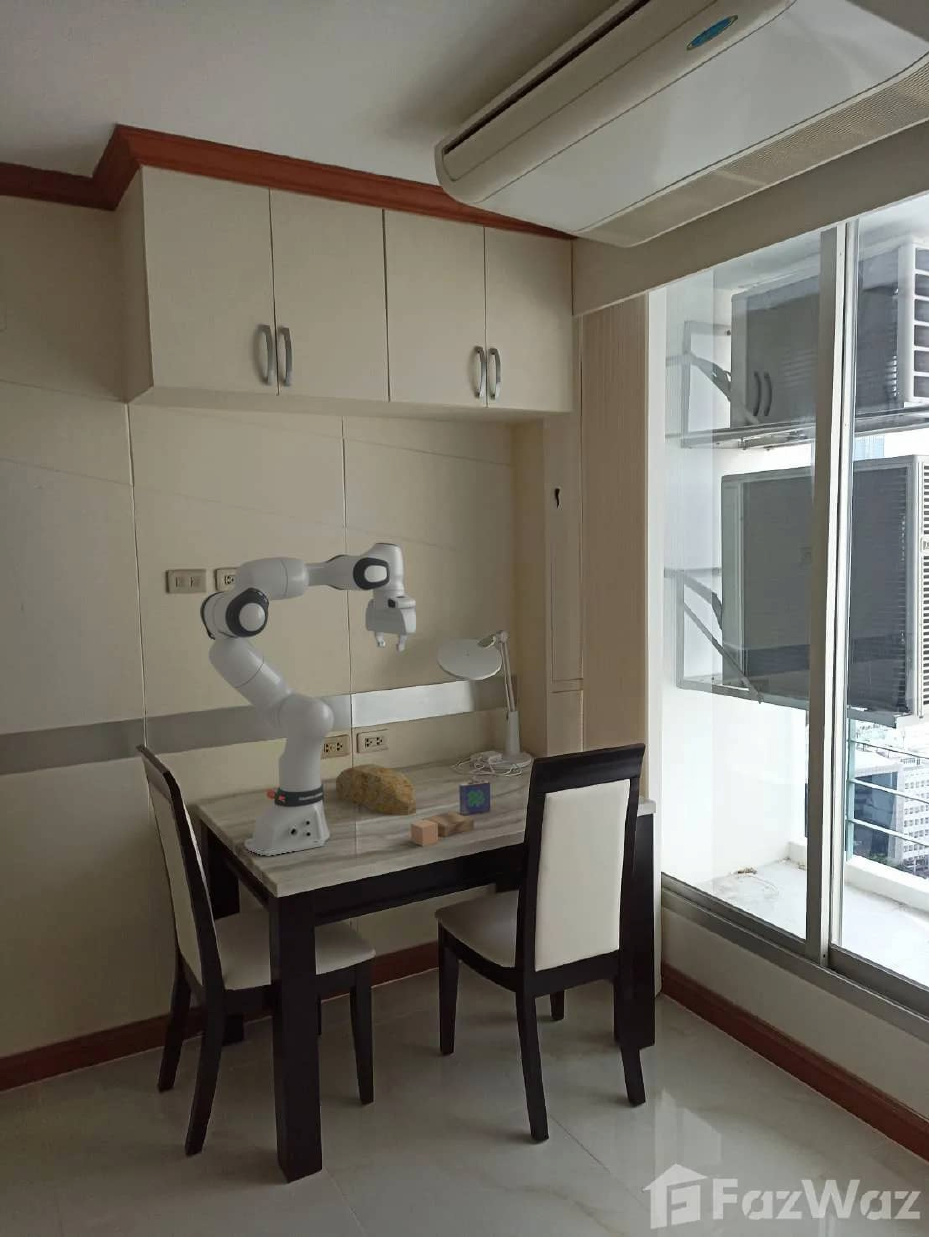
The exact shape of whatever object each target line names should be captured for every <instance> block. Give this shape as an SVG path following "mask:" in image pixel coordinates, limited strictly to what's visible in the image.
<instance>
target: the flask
mask: <svg viewBox="0 0 929 1237" xmlns="http://www.w3.org/2000/svg"><path fill="white" fill-rule="evenodd" d="M476 777H477V776H476V775H473V776H471V777H470V778H471V780H470V781H469V782H462V783H460V784H459V785H458V786H459V787H458V788H459V814H460V815H463V816H465V817H468V816H473V815H478V814H479V815H480V814H487V813H488V814H489V813H491V782H490V781H488V780H485V779H479V780H478V779H477V778H476Z"/></svg>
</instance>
